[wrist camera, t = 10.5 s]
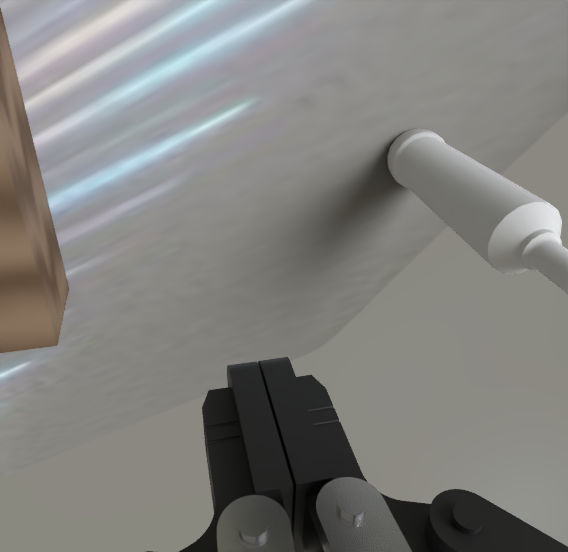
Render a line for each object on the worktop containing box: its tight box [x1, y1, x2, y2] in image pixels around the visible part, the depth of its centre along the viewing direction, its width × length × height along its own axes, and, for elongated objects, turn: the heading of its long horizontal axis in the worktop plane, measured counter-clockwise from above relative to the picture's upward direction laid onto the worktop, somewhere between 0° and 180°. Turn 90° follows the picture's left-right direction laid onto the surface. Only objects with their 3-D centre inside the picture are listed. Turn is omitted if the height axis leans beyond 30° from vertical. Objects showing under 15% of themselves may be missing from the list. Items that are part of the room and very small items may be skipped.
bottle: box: [387, 129, 568, 294], centre depth 36 cm, size 5×5×25 cm
